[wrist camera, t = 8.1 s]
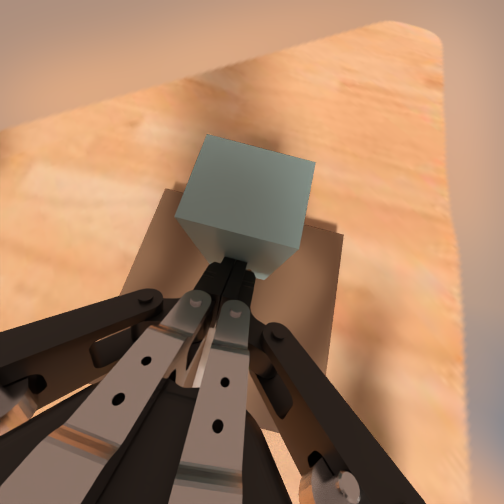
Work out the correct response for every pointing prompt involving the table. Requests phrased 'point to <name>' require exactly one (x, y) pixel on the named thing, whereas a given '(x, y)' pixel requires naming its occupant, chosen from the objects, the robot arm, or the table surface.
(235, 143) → the tall pale blue block
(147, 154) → the table surface
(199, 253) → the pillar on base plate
